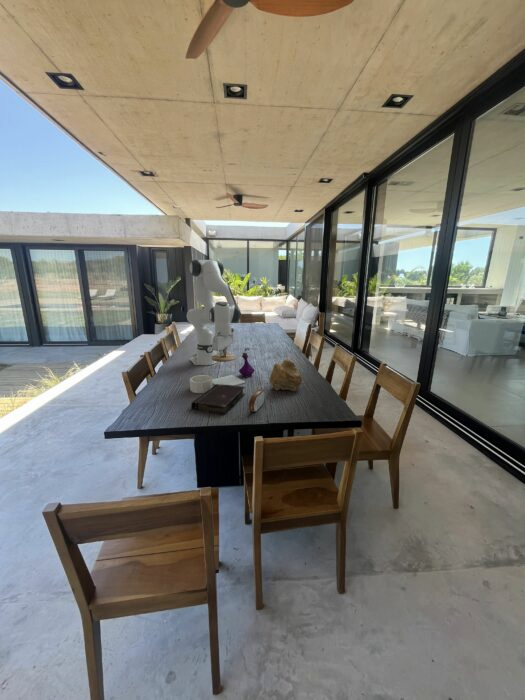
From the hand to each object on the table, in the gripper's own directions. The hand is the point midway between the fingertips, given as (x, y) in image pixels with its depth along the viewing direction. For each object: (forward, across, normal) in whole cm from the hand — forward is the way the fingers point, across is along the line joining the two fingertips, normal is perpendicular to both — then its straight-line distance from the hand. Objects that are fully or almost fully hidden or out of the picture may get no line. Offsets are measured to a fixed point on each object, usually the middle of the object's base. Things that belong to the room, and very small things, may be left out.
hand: (223, 354), depth 170 cm
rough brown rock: (+18, +5, -37) cm, 41 cm away
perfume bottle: (+17, +17, -8) cm, 25 cm away
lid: (+2, 0, 0) cm, 2 cm away
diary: (+18, -24, -10) cm, 32 cm away
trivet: (+17, +2, -1) cm, 17 cm away
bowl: (+17, -13, +8) cm, 23 cm away
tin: (+18, -25, -30) cm, 43 cm away
